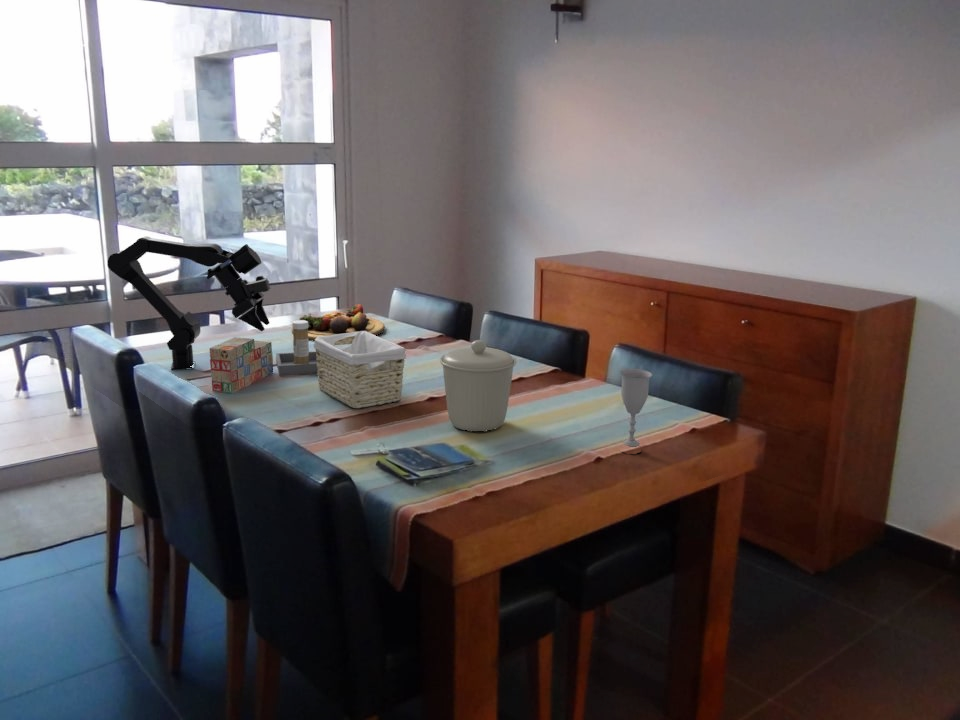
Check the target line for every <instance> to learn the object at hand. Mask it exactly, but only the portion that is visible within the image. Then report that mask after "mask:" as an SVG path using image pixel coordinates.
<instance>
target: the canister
mask: <svg viewBox="0 0 960 720" xmlns="http://www.w3.org/2000/svg"><path fill="white" fill-rule="evenodd" d="M439 362H440V364H441V365H442V370H443V371H442V373H443V381H444V391H445V399H446V408H447V414H448V415H447V416H448V418H449V421H450V423H451V424H452V425H453V427H455V428H456V429H459V430H462V431H465V430H467V432H472V431H484V432H487V431H486V430H491V431H493V430H492V429H494V430H496V429H495V428H497V429H498V427H499V428H500V427H501V426H502V425H503V423H504V422H505V420H506V417H507V414H508V413H507V412H508V406H509V400H510V394H511V387H512V382H513V381H512V379H513V373H514V366H516V364H517V359H516V357H514V356H513V355H511V354H510V353H509V352H507V351H505V350H501V349H498V348H493V347H487V345H486V342H485V341H484V340H480V339H476V340H473V341H472V342H471V344H470V347H469V346H467V347H462V348H461V347H460V348H455V349H453V350H451V351H448V352H447V353H445V354H444V355H442V356H441V357H440V359H439ZM500 425H501V426H500Z"/></svg>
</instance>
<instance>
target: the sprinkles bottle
mask: <svg viewBox="0 0 960 720" xmlns="http://www.w3.org/2000/svg"><path fill="white" fill-rule="evenodd" d="M291 323H292V324H291V325H292V326H291V327H292V328H293V333H292V336H293V341H292V345H293V346H292V347H293V353H294V364H308V363H309V352H310V351H309V350H310V349H309V346H310V345H309V340H308V321H305V320H299V319H297V320H293V321H292V322H291ZM292 328H291V329H292Z"/></svg>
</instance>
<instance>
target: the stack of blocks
mask: <svg viewBox="0 0 960 720" xmlns="http://www.w3.org/2000/svg"><path fill="white" fill-rule="evenodd" d="M272 347H273V346H272V342H271V341H266V340H255V339H254V338H247V337H235V336H234V337H232V338H230V339H228V340H224V341H222V342H221V343H219V344H216V345H213V346H211V347H209V358H210V359H209V363H210V373H211V389H212V390H211V391H212V392H218V393H226V394H234V393H236V392H239V391H240V389H241V390H242V389H244V388H247V387H249V386H250V385H252V384H254V383H255V382H257V381H259V380H261V379H263V378H266V377H267V376H269V375H271V374H273V373H274V364H273V363H274V359H273V357H274V356H273V349H272ZM253 382H254V383H253ZM251 383H252V384H251Z"/></svg>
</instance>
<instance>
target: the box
mask: <svg viewBox="0 0 960 720" xmlns="http://www.w3.org/2000/svg"><path fill="white" fill-rule="evenodd" d="M316 358H317V357H316V350H314V351H309V363H308V364H294V352H279V353H278V352H277V353H275V359H276V367H277V372H278V376H279V377H287V376H304V375H318V373H317V371H318V369H317V360H316Z"/></svg>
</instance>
